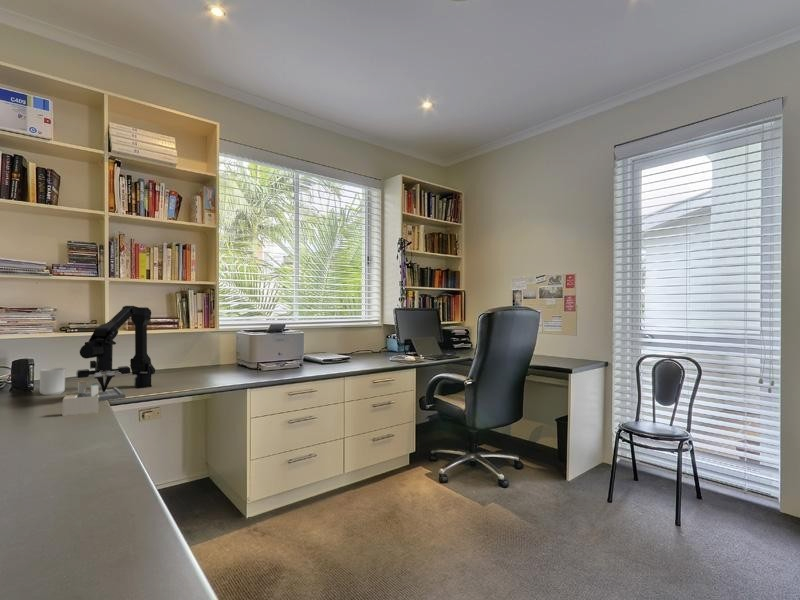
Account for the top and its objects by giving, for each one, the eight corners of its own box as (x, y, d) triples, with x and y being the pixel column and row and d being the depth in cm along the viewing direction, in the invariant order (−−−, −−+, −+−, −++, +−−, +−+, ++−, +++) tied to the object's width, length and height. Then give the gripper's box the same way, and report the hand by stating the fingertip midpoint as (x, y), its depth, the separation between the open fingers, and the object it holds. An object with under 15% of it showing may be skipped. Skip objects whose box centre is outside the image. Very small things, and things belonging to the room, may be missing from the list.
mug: (61, 394, 186) (61, 370, 187) (36, 396, 183) (36, 371, 183) (69, 389, 197) (69, 366, 198) (46, 391, 194) (46, 367, 194)
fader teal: (97, 394, 179) (97, 383, 179) (98, 395, 177) (98, 384, 177) (90, 395, 178) (90, 383, 178) (91, 396, 175) (91, 385, 175)
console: (117, 391, 195) (117, 386, 195) (125, 397, 181) (125, 392, 181) (66, 397, 182) (66, 392, 182) (70, 404, 168) (70, 399, 168)
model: (64, 415, 154) (65, 394, 154) (99, 412, 159) (99, 392, 159) (62, 417, 151) (62, 396, 151) (97, 414, 156) (98, 393, 156)
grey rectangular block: (84, 391, 184) (84, 380, 184) (85, 392, 182) (85, 382, 182) (77, 392, 183) (77, 381, 183) (78, 393, 180) (78, 382, 180)
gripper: (126, 352, 192) (125, 386, 192) (75, 355, 179) (74, 391, 179) (131, 354, 184) (130, 389, 183) (78, 358, 171) (77, 395, 171)
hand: (103, 391), depth 179 cm, fingers closed
